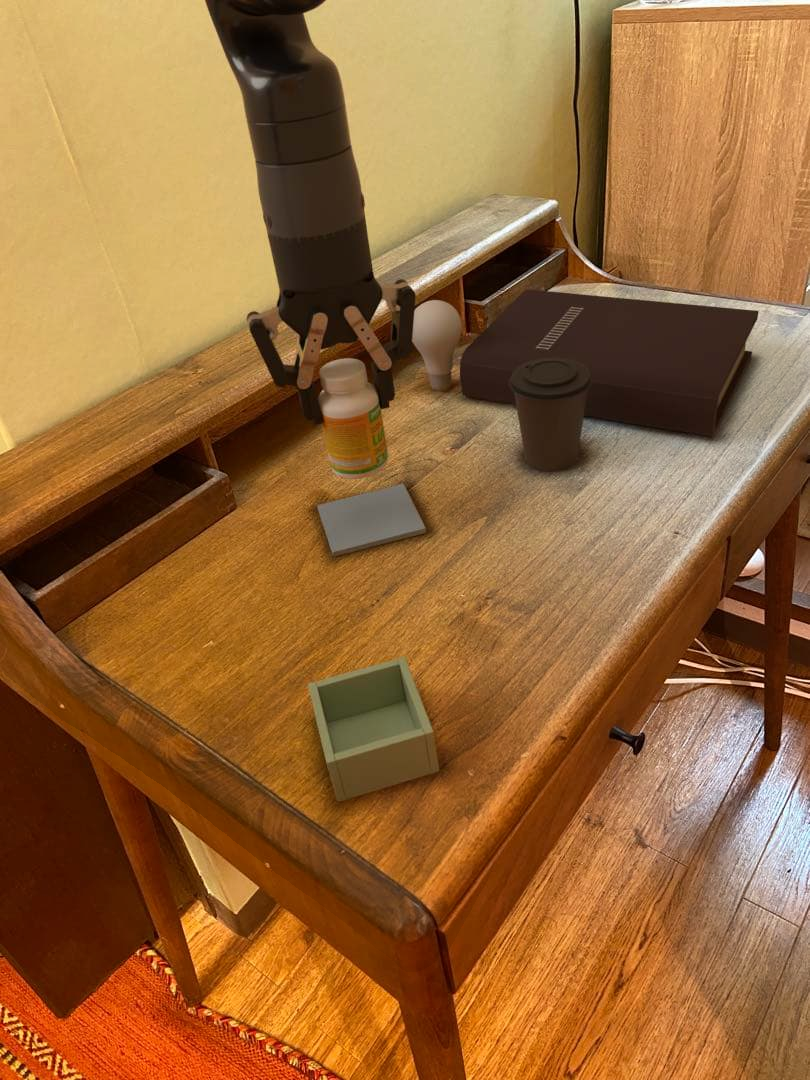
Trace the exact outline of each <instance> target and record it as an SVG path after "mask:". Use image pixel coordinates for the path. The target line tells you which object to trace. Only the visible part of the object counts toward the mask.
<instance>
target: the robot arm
mask: <svg viewBox="0 0 810 1080" xmlns="http://www.w3.org/2000/svg"><path fill="white" fill-rule="evenodd" d="M326 1H327V0H204V2H205V6H206V8H207V10H208V11H207V12H208V13H209V16H210V19H211V22H212V24H213V27H214V29H215V32H216V34H217V37H218V39H219V43H220V45H221V47H222V50H223V52H224V56H225V58H226V61H227V63H228V65H229V68H230V70H231V71H232V73H233V76H234V78H235V80H236V82H237V86H238V87H239V91H240V93H241V97H242V103H243V109H244V116H245V119H246V125H247V129H248V135H249V139H250V144H251V149H252V153H253V158H254V162H255V163H254V164H255V168H256V181H257V191H258V197H259V202H260V206H261V210H262V211H261V212H262V218H263V222H264V224H265V230H266V234H267V239H268V244H269V247H270V252H271V256H272V262H273V267H274V271H275V275H276V280H277V285H278V291H279V293H278V299H277V301H276V306H274V307H272V308H270V309H267V310H265V311H262V312H258V311H256V310H254V311H250V312H249V313H248V314H247V315H246V322H247V326H248V329H249V332H250V335H251V337H252V339H253V341H254V343H255V345H256V347H257V349H258V351H259V353H260V356H261V357H262V360H263V362H264V364H265V366H266V368H267V370H268V373H269V374H270V377H271V379H272V381H273V383H274V385H275V386H277V387H278V388H285V387H287V386H292V387H295V388H296V389H297V394H298V398H299V402H300V407H301V411H302V414H303V416H304V418H305V419H306V420H307V421H308V422H309V421H312V422H313V425H314V426H318V425H322V424H323V423H322V418H321V413H320V408H319V403H318V394H317V389H316V385H315V384H314V380H313V377H314V373H315V369H316V365H318V361H319V358H320V353H321V350H326V349H331V348H332V347H334V346H336V345H339V344H352V343H357V342H359V340H360V342H361V344H362V345H363V347H364V348H365V350H366V351H367V352H368V354H369V355H370V357H371V358H372V362H370V366H371V367H370V368H371V372H372V379H373V386H374V387H375V388H376V390H377V392H378V396H379V401H380V407H381V410H385V409H386V410H387V409H389V408H390V402H391V401H392V402H393V401H394V400H395V397H396V393H395V384H394V376H393V365H394V364H395V363H396V362H397V361H399V360H406V359H408V358H409V357H410V356H411V355H412V347H413V342H412V336H413V323H414V311H415V309H416V308H415V307H416V297H417V295H416V292H415V290H414V289H413V288H412V286H411V285H410V284H409V283H408V282H407V280H405V279H403V278H399V279H397V280H396V281H395V282H394V283H390V284H389V283H387V284H385V283H381V284H380V283H379V282H378V280H377V279H376V277H375V275H374V269H373V262H372V261H373V260H372V257H371V256H372V255H371V249H370V240H369V233H368V226H367V220H366V213H365V207H366V202H365V196H364V194H363V190H362V185H361V179H360V174H359V170H358V165H357V163H356V159H355V155H354V151H353V145H352V141H351V134H350V127H349V119H348V111H347V106H346V99H345V93H344V87H343V83H342V79H341V74H340V71H339V69H338V67H337V65H336V63H335V62H334V61H333V60H332V59H331V58H330V57H328V55H326V54H324V53H323V52H321V51H320V50H319V49H318V48H317V46H315V44H314V42H313V40H312V37H311V34H310V31H309V28H308V24H307V21H306V18H305V14H306V13H308V12H311V11H313V10H316V9H317V8H319V7H320V6H322V5H323V4H324V3H325V2H326ZM382 300H384V301H385V305H386V307H387V308H388V310H389V311H390V312H391V325H390V326H391V327H390V328H391V329H390V340H389V341H388V342H386V343H383V345H382V343H381V341H380V340H379V339H378V337H377V335H376V334H375V332H374V331H373V329H372V327H371V326H370V324H371V321H372V320H373V318H374V316H375V314H376V311H377V310H378V308H379V306H380V304H381V301H382ZM281 322H283V323H284V324H285V325H286V326H287V327H289V328H290V329H292V331H294V332H295V333H296V334H297V340H296V345H295V350H296V351H295V355H294V356H295V357H294V361H293V365H292V364H284V363H283V361H282V359H281V356H280V353H279V351H278V349H277V347H276V345H275V343H274V340H275V339H277V337H278V336H279V329H278V327H279V324H281ZM358 339H359V340H358Z"/></svg>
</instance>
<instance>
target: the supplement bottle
mask: <svg viewBox="0 0 810 1080" xmlns="http://www.w3.org/2000/svg"><path fill="white" fill-rule="evenodd" d="M318 374H319V375H318V376H319V380H320V386H321V388H322V390H321V392H320V393H319V395H318V396H317V398H318V403H319V408H320V413H321V418H322V423H323V424H321V428H322V434H323V437H324V443H325V447H326V452H327V457H328V462H329V465H330V468H331V471H332V472H333V473H334V474H335V475H336V476H338V477H340V478H343V479H348V480H360V479H366V478H369V477H371V476H374V475H376V474H378V473H380V472H381V471H382V470H384V468H385V467H386V466H387V464H388V461H389V453H388V446H387V439H386V433H385V426H384V419H383V414H382V409H381V407H380V401H379V396H378V392H377V390H376V388H375V386H374V384H372V383H371V382H369V381H368V379H369V378H368V373H367V367H366V364H365V363H364V361H362V360H360V359H357V358H351V357H349V358H347V357H345V358H338V359H335V360H332V361H329V362H327V363H325V364H324V365H323V366H321V368H320V369H319V372H318Z"/></svg>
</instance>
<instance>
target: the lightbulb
mask: <svg viewBox="0 0 810 1080" xmlns="http://www.w3.org/2000/svg"><path fill="white" fill-rule="evenodd" d="M462 333H463V322H462V318H461V316H460V313H459V312H458V310H456V308H455V307H454V306H453V305H452V304H450V303H449V302H446V301H444V300H439V299H432V300H428V301H425V302H423V303H421V304H420V305H419V306H417V307H416V308H415V310H414V323H413V336H412V345H414V347H415V348H416V350H417V351H418V352H419V354H420V355H421V358H422V359H423V362H424V365H425V371H426V373H428V378H429V384H430V387H431V389H433V390H436V391H438V392H444V391H446V390H447V389H448V388H450V387H451V385H452V370H453V365H454V364H453V362H454V361H453V359H454V354H455V350H456V349H457V346H458V344H459V342H460V339H461V336H462Z"/></svg>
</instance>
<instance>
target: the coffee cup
mask: <svg viewBox="0 0 810 1080" xmlns="http://www.w3.org/2000/svg"><path fill="white" fill-rule="evenodd" d="M508 382H509V387H510V389H511V390H512V391H513V392H514V394H515V400H516V405H515V406H516V412H517V417H518V424H519V430H520V437H521V442H522V448H523V454H524V461H525V462H526V463H527V465H528V466H529V467H532V469H535V470H538V471H541V472H542V471H543V472H559V471H563V470H566V469H568V468H570V467H572V466H573V465H574V464H575V463H576V462H577V460H578V457H579V452H580V451H579V450H580V443H581V438H582V437H581V436H582V429H583V424H584V417H585V416H584V410H585V404H586V397H587V390H588V388H590V387H591V385H592V382H593V376H592V373H591V372H590V371H589V369H588V368H587V367H586V366H585V365H584V364H582V363H580V362H578V361H575V360H571V359H566V358H542V359H536V360H532V361H529V362H527V363H524V364H522V365H520V366H519V367H517V368H516V369H515V370H514V371H513V373H512V375H511V376H510V378H509V380H508Z"/></svg>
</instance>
